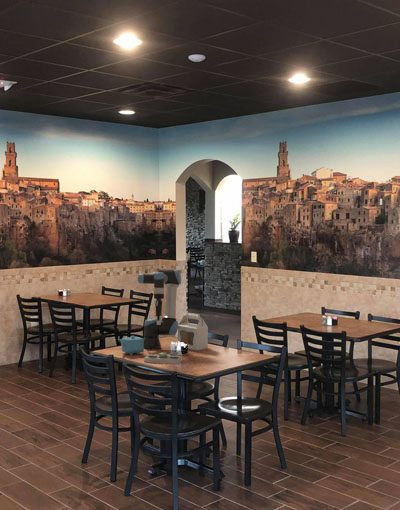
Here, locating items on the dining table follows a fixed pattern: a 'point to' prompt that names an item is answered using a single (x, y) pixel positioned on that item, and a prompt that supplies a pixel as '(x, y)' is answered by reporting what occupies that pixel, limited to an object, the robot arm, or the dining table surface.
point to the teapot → (132, 345)
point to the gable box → (198, 329)
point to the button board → (163, 359)
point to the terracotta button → (152, 352)
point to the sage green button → (162, 354)
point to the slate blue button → (173, 353)
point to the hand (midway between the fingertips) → (158, 324)
